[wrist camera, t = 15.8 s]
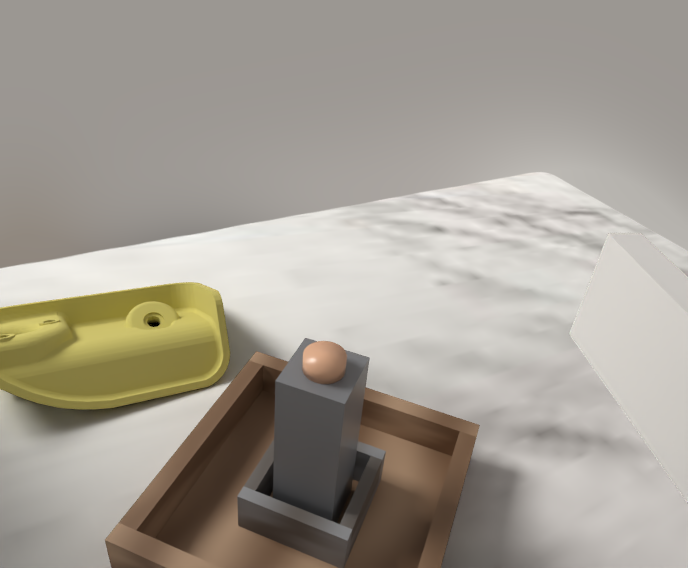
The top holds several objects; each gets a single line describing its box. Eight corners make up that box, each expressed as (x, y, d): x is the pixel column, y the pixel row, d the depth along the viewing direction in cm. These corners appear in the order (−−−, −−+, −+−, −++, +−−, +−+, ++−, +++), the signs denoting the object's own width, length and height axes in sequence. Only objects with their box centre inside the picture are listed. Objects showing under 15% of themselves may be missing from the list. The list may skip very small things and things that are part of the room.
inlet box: (113, 574, 36) (104, 536, 34) (256, 383, 51) (256, 348, 48) (400, 708, 32) (411, 675, 30) (470, 457, 46) (480, 422, 44)
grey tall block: (272, 516, 40) (275, 367, 32) (297, 470, 43) (305, 324, 35) (329, 539, 39) (346, 390, 31) (351, 490, 42) (371, 344, 34)
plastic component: (192, 280, 58) (225, 293, 49) (201, 355, 59) (234, 380, 51) (-52, 314, 49) (-65, 337, 40) (-36, 402, 50) (-46, 443, 41)
